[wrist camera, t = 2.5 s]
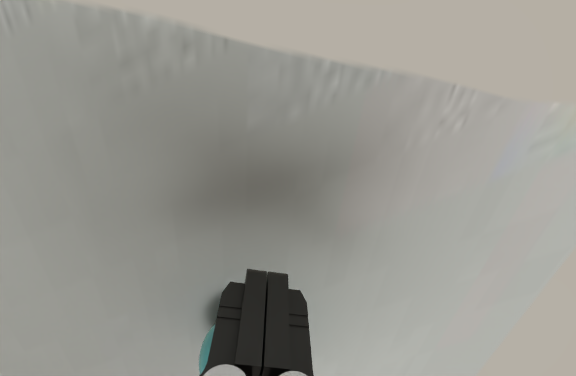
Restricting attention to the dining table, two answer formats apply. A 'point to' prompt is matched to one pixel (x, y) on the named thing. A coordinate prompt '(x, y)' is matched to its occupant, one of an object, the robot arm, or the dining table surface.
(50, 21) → the dining table surface
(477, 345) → the dining table surface
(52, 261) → the dining table surface
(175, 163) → the dining table surface
